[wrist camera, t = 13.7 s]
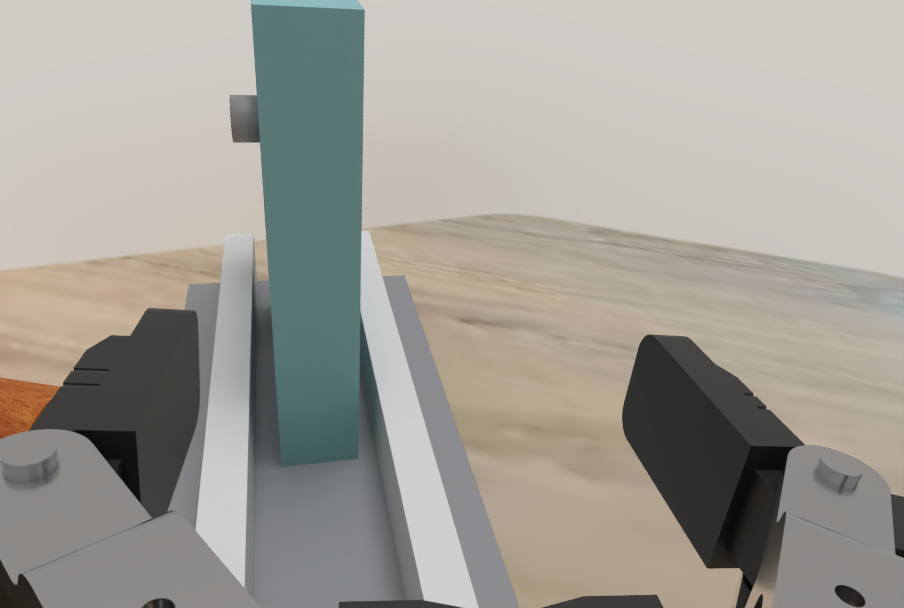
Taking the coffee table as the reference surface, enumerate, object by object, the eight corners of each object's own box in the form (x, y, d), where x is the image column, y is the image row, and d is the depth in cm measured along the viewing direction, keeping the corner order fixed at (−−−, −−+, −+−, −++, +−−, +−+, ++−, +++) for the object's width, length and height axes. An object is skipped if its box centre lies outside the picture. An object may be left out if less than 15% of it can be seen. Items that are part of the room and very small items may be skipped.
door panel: (330, 302, 31) (326, -41, 24) (358, 458, 23) (364, 9, 16) (250, 307, 30) (220, -47, 23) (249, 470, 22) (203, 1, 15)
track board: (402, 309, 35) (406, 229, 33) (583, 883, 15) (626, 785, 13) (194, 320, 33) (182, 235, 30) (89, 1016, 13) (33, 924, 11)
